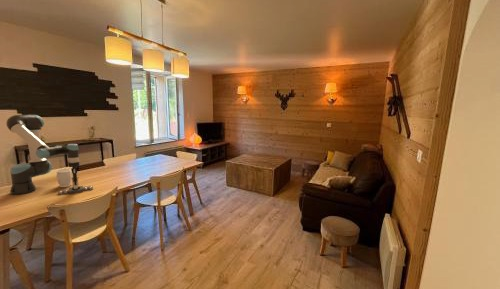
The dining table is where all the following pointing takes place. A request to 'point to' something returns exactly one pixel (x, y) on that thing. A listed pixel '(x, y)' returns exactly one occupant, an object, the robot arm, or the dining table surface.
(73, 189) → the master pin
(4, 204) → the dining table surface
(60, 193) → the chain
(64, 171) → the jar
